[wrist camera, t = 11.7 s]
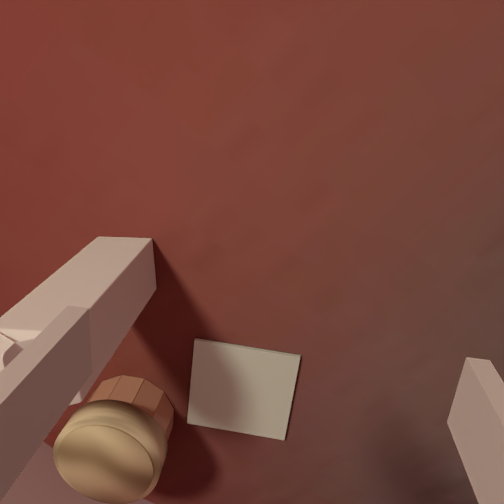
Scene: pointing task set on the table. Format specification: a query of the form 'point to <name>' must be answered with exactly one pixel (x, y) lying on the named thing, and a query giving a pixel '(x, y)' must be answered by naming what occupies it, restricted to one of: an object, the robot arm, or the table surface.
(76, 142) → the table surface
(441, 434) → the table surface
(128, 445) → the brass lid
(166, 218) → the table surface
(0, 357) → the milk
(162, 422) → the terracotta bowl
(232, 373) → the silicone mat
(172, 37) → the table surface
